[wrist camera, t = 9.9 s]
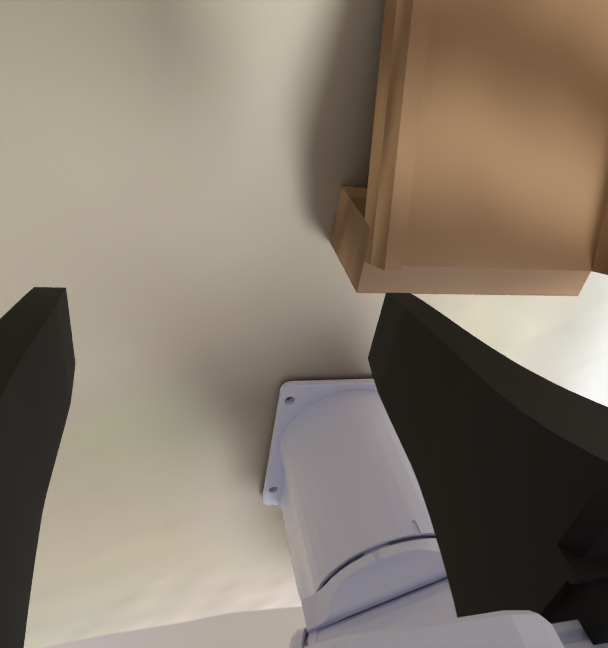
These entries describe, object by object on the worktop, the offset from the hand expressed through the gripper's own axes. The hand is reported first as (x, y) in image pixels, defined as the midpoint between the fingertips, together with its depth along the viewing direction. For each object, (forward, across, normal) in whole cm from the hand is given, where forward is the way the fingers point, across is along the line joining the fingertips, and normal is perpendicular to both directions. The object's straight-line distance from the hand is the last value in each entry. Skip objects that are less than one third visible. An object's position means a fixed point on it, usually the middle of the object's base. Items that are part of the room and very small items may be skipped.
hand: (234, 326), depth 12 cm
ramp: (+10, -10, -4) cm, 15 cm away
